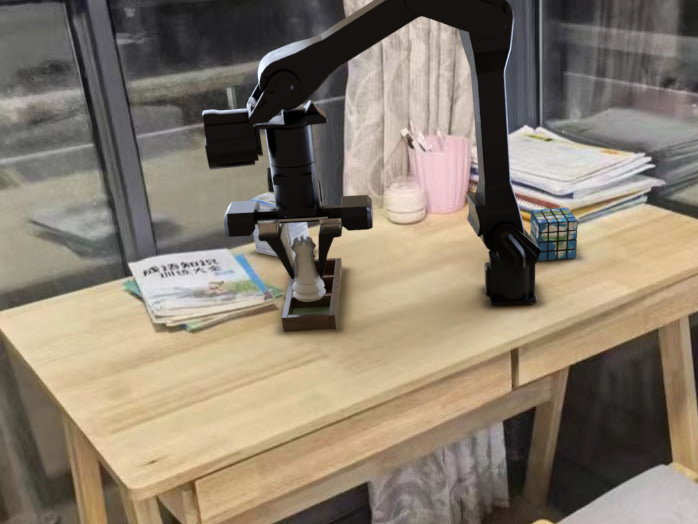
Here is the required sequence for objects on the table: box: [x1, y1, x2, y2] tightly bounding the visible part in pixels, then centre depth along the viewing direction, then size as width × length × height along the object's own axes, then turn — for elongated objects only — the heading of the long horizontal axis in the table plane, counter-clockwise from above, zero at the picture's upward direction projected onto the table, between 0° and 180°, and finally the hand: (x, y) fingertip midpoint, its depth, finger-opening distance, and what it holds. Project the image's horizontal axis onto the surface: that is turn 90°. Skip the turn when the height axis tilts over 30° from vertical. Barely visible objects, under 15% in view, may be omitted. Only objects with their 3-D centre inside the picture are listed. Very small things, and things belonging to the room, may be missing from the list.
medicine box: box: [248, 192, 310, 261], centre depth 148 cm, size 8×4×9 cm, turn 58°
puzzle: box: [529, 207, 579, 262], centre depth 145 cm, size 6×6×6 cm
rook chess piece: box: [291, 235, 326, 302], centre depth 126 cm, size 4×4×8 cm
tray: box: [281, 257, 344, 333], centre depth 134 cm, size 7×20×2 cm, turn 3°
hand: (307, 277), depth 126 cm, fingers closed on rook chess piece, 3 cm apart
